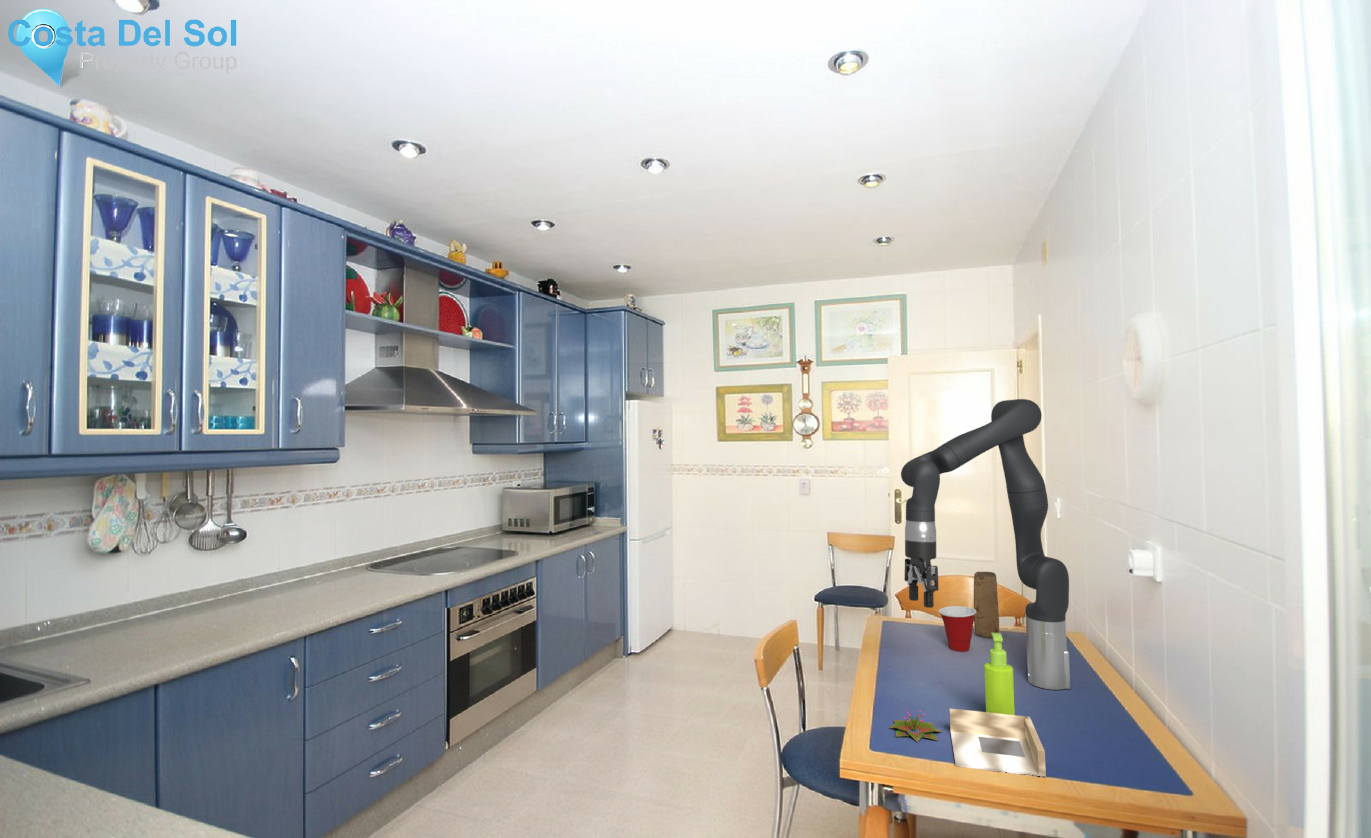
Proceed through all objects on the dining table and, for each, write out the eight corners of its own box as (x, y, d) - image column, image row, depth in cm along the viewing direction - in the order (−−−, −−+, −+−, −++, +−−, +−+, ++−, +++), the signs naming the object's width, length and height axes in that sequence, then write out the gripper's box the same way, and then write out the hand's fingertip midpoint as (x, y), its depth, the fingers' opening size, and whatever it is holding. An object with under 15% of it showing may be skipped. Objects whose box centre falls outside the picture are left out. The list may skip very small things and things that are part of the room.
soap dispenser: (1012, 719, 150) (1009, 631, 150) (1017, 732, 143) (1013, 640, 144) (984, 716, 152) (981, 629, 152) (987, 728, 145) (984, 638, 146)
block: (999, 640, 207) (997, 577, 207) (974, 637, 210) (971, 575, 210) (999, 630, 216) (997, 570, 217) (975, 628, 220) (973, 568, 220)
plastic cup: (935, 642, 205) (934, 604, 206) (971, 643, 204) (970, 605, 204) (944, 654, 195) (943, 613, 195) (982, 655, 193) (981, 614, 194)
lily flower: (887, 742, 141) (887, 721, 141) (886, 718, 152) (885, 699, 153) (946, 748, 138) (946, 726, 138) (940, 723, 149) (939, 703, 149)
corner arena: (1030, 740, 139) (1029, 716, 139) (1045, 777, 124) (1044, 751, 124) (950, 731, 144) (949, 708, 145) (955, 766, 129) (954, 740, 129)
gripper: (948, 542, 158) (948, 610, 157) (922, 536, 172) (922, 598, 171) (918, 542, 158) (918, 610, 156) (894, 535, 172) (895, 598, 170)
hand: (920, 603), depth 164 cm, fingers open, 8 cm apart
